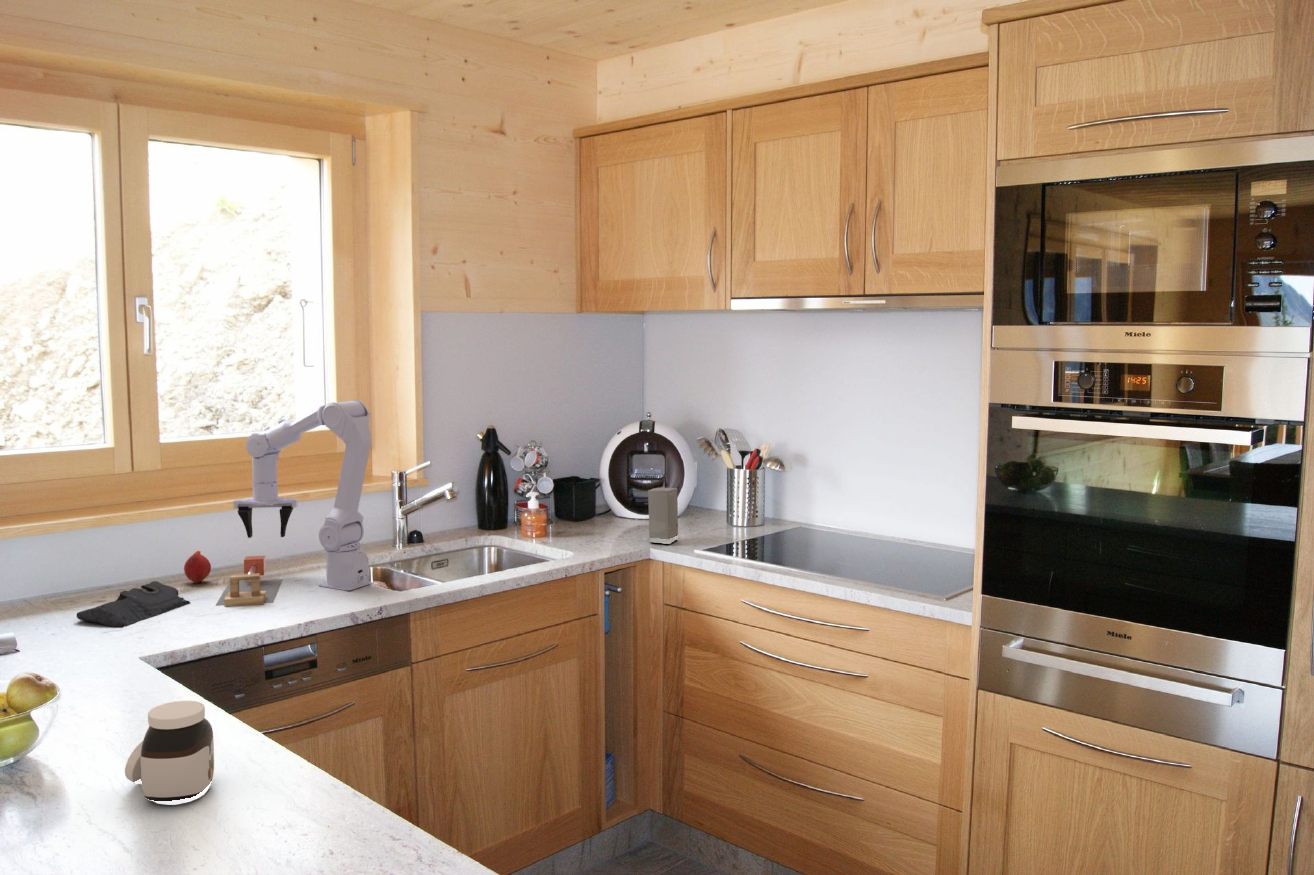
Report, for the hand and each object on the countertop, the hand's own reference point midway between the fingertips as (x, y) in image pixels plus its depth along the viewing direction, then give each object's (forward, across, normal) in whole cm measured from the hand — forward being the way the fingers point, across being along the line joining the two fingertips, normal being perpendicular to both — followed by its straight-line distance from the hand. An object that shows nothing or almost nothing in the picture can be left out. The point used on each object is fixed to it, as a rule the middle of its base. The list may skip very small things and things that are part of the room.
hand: (266, 536), depth 255 cm
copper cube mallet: (+8, -1, -13) cm, 15 cm away
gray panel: (+10, -1, -15) cm, 18 cm away
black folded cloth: (+11, -22, -29) cm, 38 cm away
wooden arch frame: (+10, 0, -24) cm, 26 cm away
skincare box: (+10, +104, +29) cm, 109 cm away
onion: (+10, -15, -5) cm, 19 cm away
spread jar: (+10, +10, -121) cm, 122 cm away
